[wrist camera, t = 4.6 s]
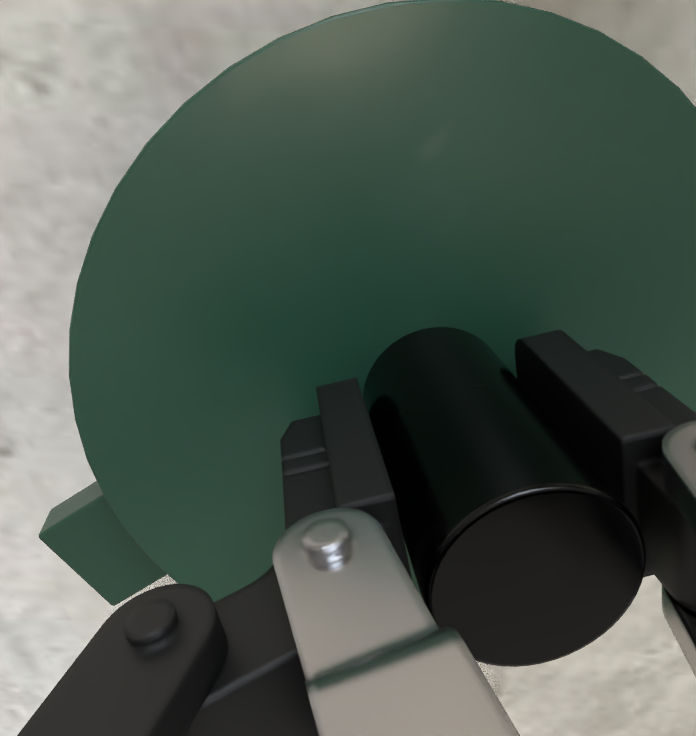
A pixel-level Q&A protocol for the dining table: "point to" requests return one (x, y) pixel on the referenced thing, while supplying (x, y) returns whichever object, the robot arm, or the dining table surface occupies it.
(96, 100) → the dining table surface
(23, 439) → the dining table surface
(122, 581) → the pot
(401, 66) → the lid
